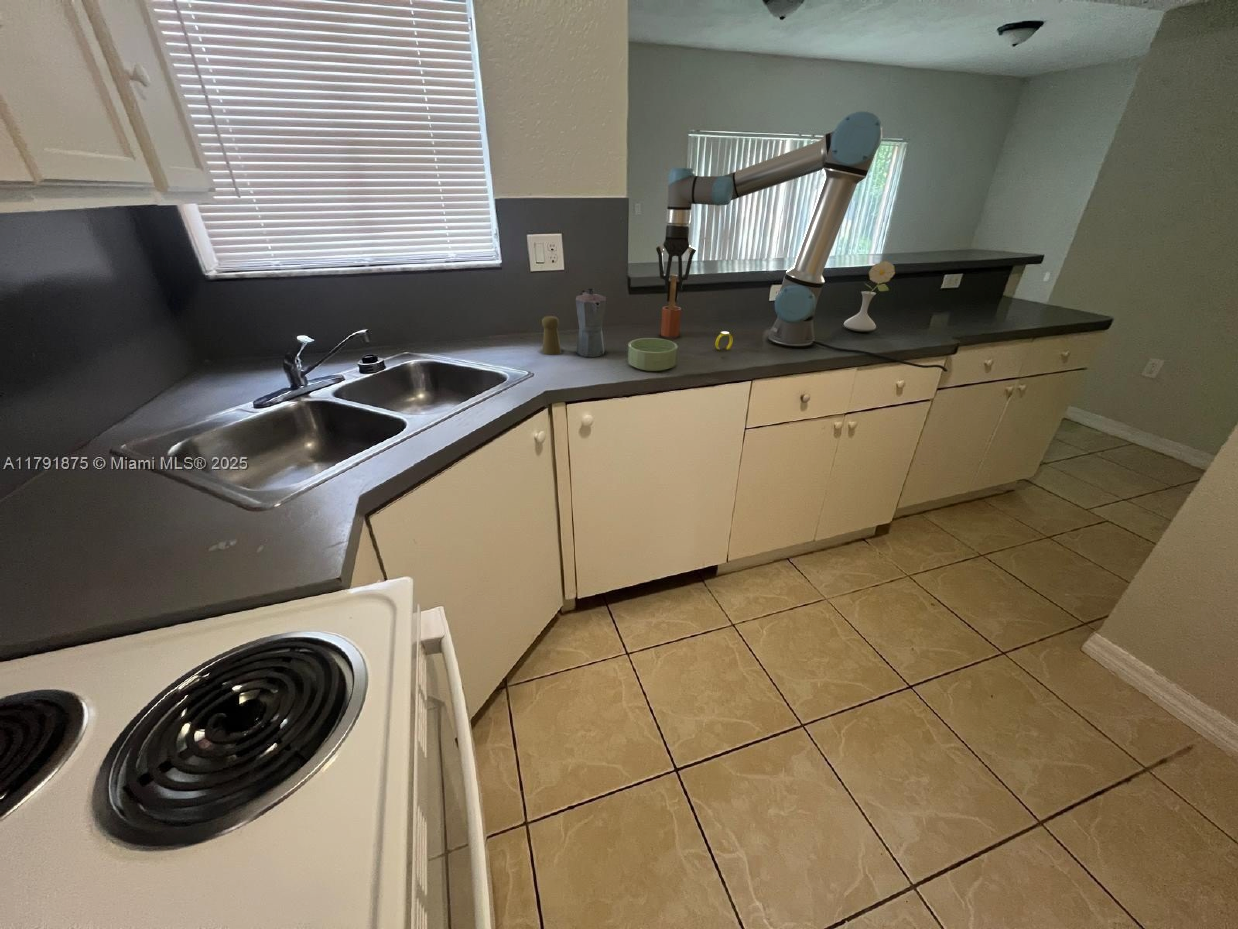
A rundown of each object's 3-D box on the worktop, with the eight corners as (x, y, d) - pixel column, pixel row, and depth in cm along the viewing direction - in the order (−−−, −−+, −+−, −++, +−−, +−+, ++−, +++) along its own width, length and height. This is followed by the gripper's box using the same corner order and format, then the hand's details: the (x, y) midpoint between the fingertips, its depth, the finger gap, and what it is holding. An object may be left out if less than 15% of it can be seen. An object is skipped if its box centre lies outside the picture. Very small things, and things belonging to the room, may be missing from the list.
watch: (728, 348, 163) (730, 330, 160) (733, 350, 161) (735, 332, 157) (713, 350, 160) (715, 332, 157) (717, 352, 158) (720, 334, 155)
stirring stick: (672, 333, 173) (677, 274, 163) (672, 335, 171) (676, 275, 161) (667, 333, 173) (671, 274, 163) (666, 335, 172) (670, 275, 162)
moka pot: (585, 362, 148) (584, 293, 137) (566, 347, 159) (564, 284, 149) (613, 357, 152) (614, 291, 141) (593, 344, 163) (592, 281, 153)
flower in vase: (836, 328, 187) (853, 258, 174) (852, 324, 193) (870, 256, 180) (868, 336, 178) (889, 264, 165) (884, 332, 184) (906, 261, 171)
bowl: (678, 358, 152) (679, 339, 149) (673, 374, 140) (674, 354, 137) (632, 355, 154) (632, 336, 151) (623, 370, 142) (624, 350, 139)
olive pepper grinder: (564, 350, 157) (563, 315, 152) (556, 355, 152) (554, 320, 147) (547, 347, 159) (545, 313, 153) (539, 353, 154) (536, 318, 148)
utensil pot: (679, 334, 175) (681, 306, 170) (677, 340, 170) (680, 310, 164) (661, 333, 176) (663, 305, 171) (659, 338, 171) (661, 309, 166)
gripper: (702, 224, 156) (695, 299, 168) (656, 222, 159) (652, 297, 171) (701, 226, 150) (693, 304, 162) (652, 224, 152) (649, 301, 165)
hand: (672, 300), depth 166 cm, fingers closed on stirring stick, 2 cm apart
